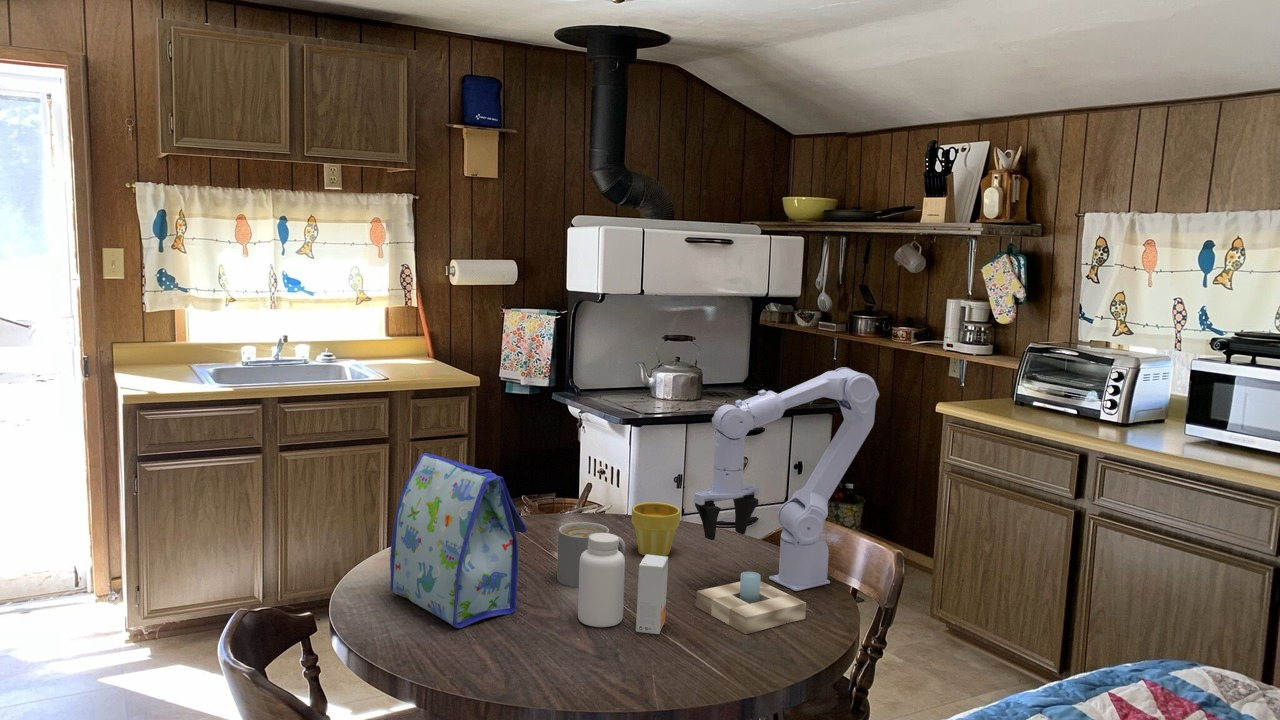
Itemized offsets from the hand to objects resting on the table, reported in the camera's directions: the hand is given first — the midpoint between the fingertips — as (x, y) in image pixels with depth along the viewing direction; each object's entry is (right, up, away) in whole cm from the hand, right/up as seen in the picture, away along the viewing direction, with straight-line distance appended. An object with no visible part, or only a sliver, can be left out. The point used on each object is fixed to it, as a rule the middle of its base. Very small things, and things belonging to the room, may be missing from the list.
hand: (725, 535), depth 186 cm
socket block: (+3, -12, -12) cm, 17 cm away
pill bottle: (-24, -12, -18) cm, 32 cm away
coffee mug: (-26, -9, +2) cm, 28 cm away
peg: (+3, -12, -12) cm, 17 cm away
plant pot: (-14, -7, +19) cm, 24 cm away
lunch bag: (-50, -10, -13) cm, 53 cm away
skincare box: (-15, -12, -20) cm, 28 cm away
